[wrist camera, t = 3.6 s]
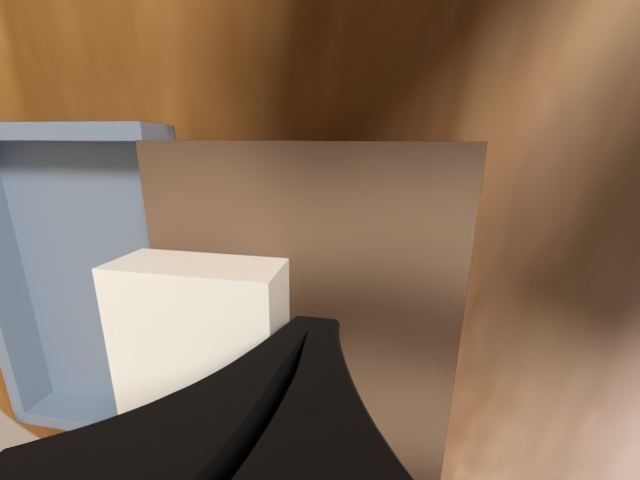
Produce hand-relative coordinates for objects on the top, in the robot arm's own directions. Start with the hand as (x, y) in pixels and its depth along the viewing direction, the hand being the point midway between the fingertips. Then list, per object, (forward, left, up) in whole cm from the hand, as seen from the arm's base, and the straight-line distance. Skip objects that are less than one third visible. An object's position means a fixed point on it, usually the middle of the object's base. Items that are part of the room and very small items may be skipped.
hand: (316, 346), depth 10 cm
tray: (0, +10, -3) cm, 11 cm away
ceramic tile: (0, +3, -1) cm, 4 cm away
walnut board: (0, +1, -3) cm, 3 cm away
